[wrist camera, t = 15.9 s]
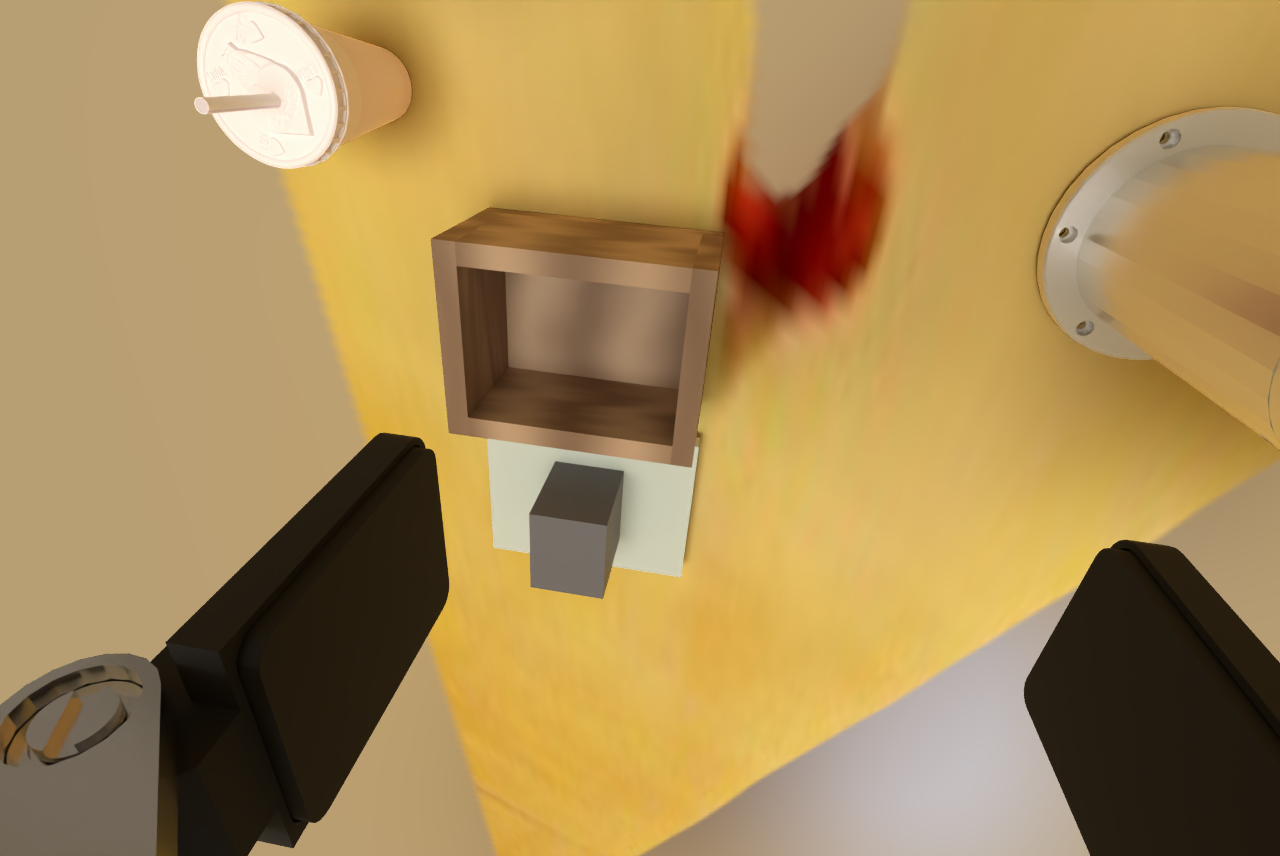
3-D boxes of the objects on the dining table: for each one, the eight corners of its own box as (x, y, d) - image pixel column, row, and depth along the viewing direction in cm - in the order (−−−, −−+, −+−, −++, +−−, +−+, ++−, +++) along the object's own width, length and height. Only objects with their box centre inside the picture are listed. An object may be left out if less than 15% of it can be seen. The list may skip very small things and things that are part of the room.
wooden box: (724, 232, 36) (718, 271, 30) (701, 402, 42) (691, 467, 35) (489, 207, 38) (430, 238, 31) (497, 374, 43) (448, 433, 36)
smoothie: (393, 171, 38) (224, 220, 26) (304, 81, 36) (78, 88, 24) (457, 87, 35) (302, 98, 23) (364, -15, 33) (143, -62, 21)
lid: (701, 430, 43) (691, 501, 36) (683, 557, 49) (672, 640, 42) (497, 402, 45) (449, 465, 38) (503, 529, 50) (463, 604, 43)
